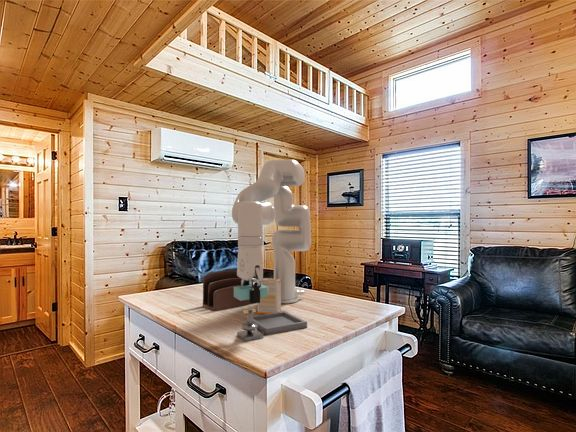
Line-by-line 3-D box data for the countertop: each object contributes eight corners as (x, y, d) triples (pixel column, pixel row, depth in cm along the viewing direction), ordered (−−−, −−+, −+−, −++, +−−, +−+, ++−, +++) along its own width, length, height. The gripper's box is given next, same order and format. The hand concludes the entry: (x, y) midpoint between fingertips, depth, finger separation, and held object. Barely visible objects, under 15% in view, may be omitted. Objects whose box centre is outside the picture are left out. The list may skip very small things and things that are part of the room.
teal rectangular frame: (240, 300, 96) (240, 290, 96) (233, 296, 101) (233, 286, 101) (271, 296, 101) (271, 286, 101) (263, 292, 106) (263, 283, 106)
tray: (285, 316, 122) (285, 311, 122) (307, 327, 109) (307, 321, 109) (247, 322, 115) (247, 316, 115) (266, 334, 102) (266, 328, 102)
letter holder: (202, 306, 137) (202, 272, 137) (243, 299, 150) (243, 268, 150) (213, 311, 129) (213, 275, 130) (255, 303, 142) (255, 270, 142)
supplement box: (281, 312, 128) (281, 278, 128) (277, 315, 123) (277, 280, 123) (261, 310, 130) (262, 277, 131) (256, 313, 126) (257, 279, 126)
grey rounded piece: (254, 332, 104) (255, 306, 104) (263, 337, 99) (263, 310, 99) (237, 335, 101) (237, 308, 101) (244, 341, 96) (244, 313, 96)
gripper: (229, 240, 106) (229, 296, 106) (250, 244, 92) (250, 309, 92) (250, 239, 110) (250, 293, 110) (274, 243, 95) (274, 305, 95)
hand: (250, 300), depth 101 cm, fingers closed on teal rectangular frame, 5 cm apart
